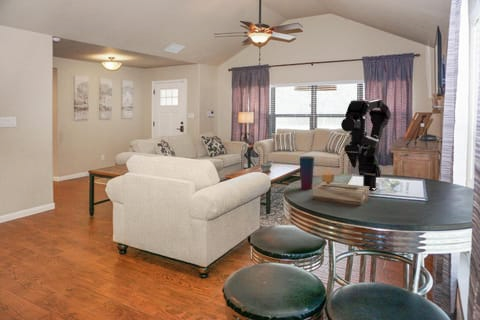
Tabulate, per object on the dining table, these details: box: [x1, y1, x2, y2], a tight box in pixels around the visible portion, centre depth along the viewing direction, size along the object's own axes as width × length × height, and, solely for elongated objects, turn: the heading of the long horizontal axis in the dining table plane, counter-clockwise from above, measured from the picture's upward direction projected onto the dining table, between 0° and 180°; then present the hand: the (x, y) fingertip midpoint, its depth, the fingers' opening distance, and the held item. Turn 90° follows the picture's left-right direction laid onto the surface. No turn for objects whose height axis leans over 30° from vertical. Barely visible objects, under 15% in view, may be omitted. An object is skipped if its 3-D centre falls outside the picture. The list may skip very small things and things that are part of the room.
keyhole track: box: [312, 182, 370, 206], centre depth 152 cm, size 13×20×5 cm, turn 57°
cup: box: [299, 155, 315, 191], centre depth 171 cm, size 7×7×15 cm
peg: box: [321, 172, 335, 187], centre depth 155 cm, size 4×4×8 cm
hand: (357, 165), depth 157 cm, fingers open, 9 cm apart
